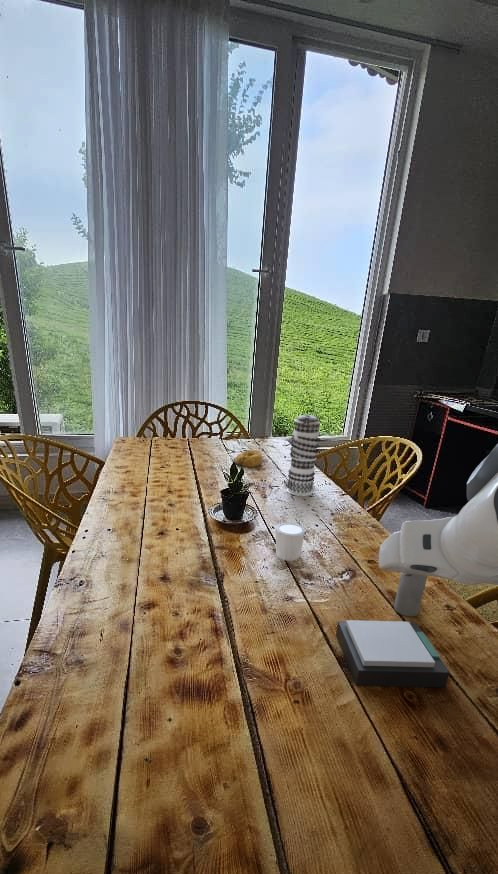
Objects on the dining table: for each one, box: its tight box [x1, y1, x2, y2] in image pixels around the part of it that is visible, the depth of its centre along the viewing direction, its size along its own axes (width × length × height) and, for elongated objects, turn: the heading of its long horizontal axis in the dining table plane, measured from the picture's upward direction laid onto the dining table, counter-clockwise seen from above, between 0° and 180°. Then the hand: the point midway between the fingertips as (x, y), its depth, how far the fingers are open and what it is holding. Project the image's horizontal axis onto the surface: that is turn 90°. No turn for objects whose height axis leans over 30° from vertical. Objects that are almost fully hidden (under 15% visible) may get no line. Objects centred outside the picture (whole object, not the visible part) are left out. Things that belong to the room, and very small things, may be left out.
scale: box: [335, 619, 451, 688], centre depth 73 cm, size 14×12×4 cm
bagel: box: [233, 449, 263, 468], centre depth 173 cm, size 10×11×5 cm
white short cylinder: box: [275, 522, 306, 562], centre depth 105 cm, size 7×7×7 cm
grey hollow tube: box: [393, 574, 428, 618], centre depth 85 cm, size 4×4×10 cm
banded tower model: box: [286, 414, 322, 497], centre depth 143 cm, size 9×9×25 cm
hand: (435, 575), depth 72 cm, fingers open, 8 cm apart
